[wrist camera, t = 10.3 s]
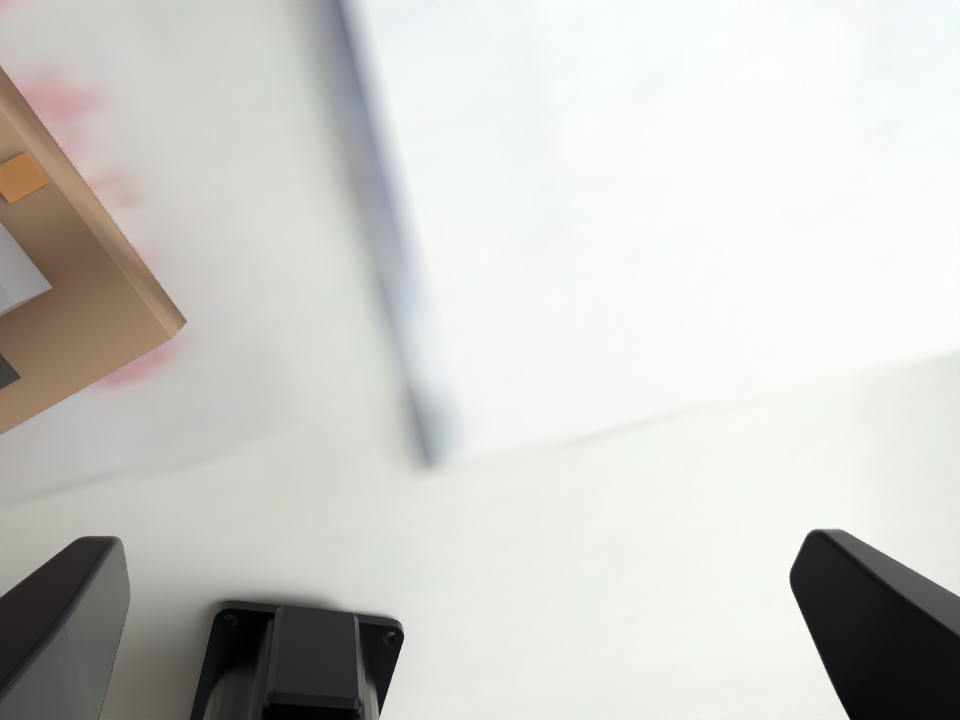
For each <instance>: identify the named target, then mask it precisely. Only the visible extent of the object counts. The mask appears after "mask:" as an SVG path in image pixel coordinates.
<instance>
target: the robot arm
mask: <svg viewBox="0 0 960 720" xmlns="http://www.w3.org/2000/svg"><path fill="white" fill-rule="evenodd" d="M789 577H790V585H791V589H792V592H793V594H794V596H795V599H796V601H797V603H798V606H799V608H800V610H801V613H802V615H803V617H804V620H805V622H806V625H807V627H808V629H809V632H810V634H811V636H812V639H813V641H814V643H815V646H816V648H817V650H818V653H819V655H820V657H821V660H822V662H823V664H824V667H825V669H826V672H827V674H828V676H829V678H830V681H831V683H832V685H833V687H834V689H835V692H836V694H837V696H838V698H839V700H840V702H841V704H842V706H843V708H844V710H845V711H846V713H847V715H848V717H849V719H850V720H960V597H959V596H957V595H955V594H954V593H952V592H950V591H948V590H947V589H945V588H943V587H941V586H940V585H938V584H936V583H934V582H933V581H931V580H929V579H928V578H926V577H924V576H922V575H921V574H919V573H917V572H915V571H914V570H912V569H910V568H908V567H907V566H905V565H903V564H901V563H900V562H898V561H896V560H894V559H893V558H891V557H889V556H887V555H886V554H884V553H882V552H880V551H879V550H877V549H875V548H873V547H872V546H870V545H868V544H866V543H865V542H863V541H861V540H859V539H858V538H856V537H854V536H853V535H851V534H849V533H847V532H845V531H843V530H840V529H815V530H812V531H811V532H809V533H808V534H807V536H806V538H805V540H804V542H803V544H802V546H801V548H800V550H799V553H798V555H797V557H796V559H795V561H794V563H793V566H792V568H791V570H790V576H789ZM129 601H130V583H129V577H128V571H127V565H126V559H125V553H124V547H123V544H122V542H121V540H120V539H119V538H118V537H115V536H85V537H81V538H79V539H77V540H75V541H74V542H72V543H71V544H70V545H68V546H67V547H66V548H64V549H63V550H62V551H60V552H59V553H58V554H57V555H55V556H54V557H53V558H51V559H50V560H49V561H47V562H46V563H45V564H44V565H42V566H41V567H40V568H38V569H37V570H36V571H34V572H33V573H32V574H31V575H29V576H28V577H27V578H25V579H24V580H23V581H21V582H20V583H19V584H18V585H16V586H15V587H14V588H12V589H11V590H10V591H8V592H7V593H6V594H5V595H3V596H2V597H1V598H0V720H99V717H100V714H101V710H102V706H103V702H104V698H105V695H106V691H107V687H108V683H109V679H110V676H111V672H112V668H113V664H114V660H115V657H116V653H117V649H118V645H119V641H120V638H121V634H122V630H123V626H124V623H125V619H126V615H127V611H128V607H129ZM230 614H231V615H234V616H236V617H237V618H235V619H233V620H229V619H226V618H225V617H224V616H226V615H230ZM388 632H393V633H395V634H394V635H392V636H390V637H387V636H384V635H385V634H387V633H388ZM403 640H404V631H403V627H402V624H401V623H400V622H399V621H398V620H394V619H388V618H380V617H371V616H362V615H354V614H352V613H344V612H336V611H327V610H319V609H310V608H301V607H293V606H276V605H267V604H258V603H250V602H241V601H227V602H224V603H222V604H221V605H220V606H219V607H218V608H217V610H216V613H215V617H214V621H213V625H212V629H211V633H210V638H209V642H208V646H207V650H206V654H205V659H204V663H203V667H202V671H201V675H200V680H199V684H198V688H197V692H196V696H195V701H194V705H193V709H192V713H191V717H190V720H379V717H380V714H381V711H382V707H383V704H384V701H385V698H386V695H387V691H388V688H389V685H390V682H391V679H392V675H393V672H394V669H395V666H396V663H397V659H398V656H399V653H400V650H401V647H402V643H403Z"/></svg>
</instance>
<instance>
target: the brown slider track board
mask: <svg viewBox="0 0 960 720" xmlns="http://www.w3.org/2000/svg"><path fill="white" fill-rule="evenodd" d="M0 222H1V223H2V225H3V226H4V227H5V228H6V230H7V231H8V232H9V233H10V235H11V236H12V237H13V238H14V240H15V241H16V242H17V243H18V245H19V246H20V247H21V248H22V250H23V251H24V252H25V253H26V255H27V256H28V257H29V259H30V260H31V261H32V262H33V264H34V265H35V266H36V267H37V269H38V270H39V271H40V272H41V274H42V275H43V276H44V277H45V279H46V280H47V281H48V282H49V284H50V285H51V286H52V287H53V288H51V289H49V290H48V291H46V292H44V293H42V294H40V295H39V296H37V297H35V298H33V299H31V300H30V301H28V302H26V303H24V304H22V305H20V306H19V307H17V308H15V309H13V310H11V311H10V312H8V313H6V314H4V315H2V316H1V317H0V435H1V434H3V433H5V432H6V431H8V430H10V429H12V428H14V427H15V426H17V425H19V424H21V423H22V422H24V421H26V420H28V419H30V418H31V417H33V416H35V415H37V414H38V413H40V412H42V411H44V410H45V409H47V408H49V407H51V406H53V405H54V404H56V403H58V402H60V401H61V400H63V399H65V398H67V397H69V396H70V395H72V394H74V393H76V392H77V391H79V390H81V389H83V388H85V387H86V386H88V385H90V384H92V383H93V382H95V381H97V380H99V379H101V378H102V377H104V376H106V375H108V374H109V373H111V372H113V371H115V370H116V369H118V368H120V367H122V366H124V365H125V364H127V363H129V362H131V361H132V360H134V359H136V358H138V357H140V356H141V355H143V354H145V353H147V352H148V351H150V350H152V349H154V348H156V347H157V346H159V345H161V344H163V343H164V342H166V341H168V340H170V339H172V337H173V336H174V335H175V334H176V333H177V332H178V331H179V330H180V329H181V328H182V327H183V326H184V324H185V323H186V322H187V321H186V320H185V318H184V317H183V316H182V314H181V313H180V312H179V310H178V309H177V307H176V306H175V305H174V303H173V302H172V301H171V299H170V298H169V297H168V295H167V294H166V292H165V291H164V290H163V288H162V287H161V286H160V284H159V283H158V281H157V280H156V279H155V277H154V276H153V275H152V273H151V272H150V270H149V269H148V268H147V266H146V265H145V264H144V262H143V261H142V259H141V258H140V257H139V255H138V254H137V253H136V251H135V250H134V249H133V247H132V246H131V244H130V243H129V242H128V240H127V239H126V238H125V236H124V235H123V233H122V232H121V231H120V229H119V228H118V227H117V225H116V224H115V222H114V221H113V220H112V218H111V217H110V216H109V214H108V213H107V212H106V210H105V209H104V207H103V206H102V205H101V203H100V202H99V201H98V199H97V198H96V196H95V195H94V194H93V192H92V191H91V190H90V188H89V187H88V185H87V184H86V183H85V181H84V180H83V179H82V177H81V176H80V174H79V173H78V172H77V170H76V169H75V168H74V166H73V165H72V164H71V162H70V161H69V159H68V158H67V157H66V155H65V154H64V153H63V151H62V150H61V148H60V147H59V146H58V144H57V143H56V142H55V140H54V139H53V137H52V136H51V135H50V133H49V132H48V131H47V129H46V128H45V127H44V125H43V124H42V122H41V121H40V120H39V118H38V117H37V116H36V114H35V113H34V111H33V110H32V109H31V107H30V106H29V105H28V103H27V102H26V100H25V99H24V98H23V96H22V95H21V94H20V92H19V91H18V89H17V88H16V87H15V85H14V84H13V83H12V81H11V80H10V79H9V77H8V76H7V74H6V73H5V72H4V70H3V69H2V68H1V66H0Z"/></svg>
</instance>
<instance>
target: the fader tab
mask: <svg viewBox="0 0 960 720" xmlns="http://www.w3.org/2000/svg"><path fill="white" fill-rule="evenodd" d="M51 288H53V287H52V286H51V285H50V284H49V282H48V281H47V280H46V279H45V277H44V276H43V275H42V274H41V272H40V271H39V270H38V269H37V267H36V266H35V265H34V264H33V262H32V261H31V260H30V259H29V257H28V256H27V255H26V253H25V252H24V251H23V250H22V248H21V247H20V246H19V245H18V243H17V242H16V241H15V240H14V238H13V237H12V236H11V235H10V233H9V232H8V231H7V230H6V228H5V227H4V226H3V225H2V223H1V222H0V317H1V316H2V315H4V314H6V313H8V312H10V311H11V310H13V309H15V308H17V307H19V306H20V305H22V304H24V303H26V302H28V301H30V300H31V299H33V298H35V297H37V296H39V295H40V294H42V293H44V292H46V291H48V290H49V289H51Z"/></svg>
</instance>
